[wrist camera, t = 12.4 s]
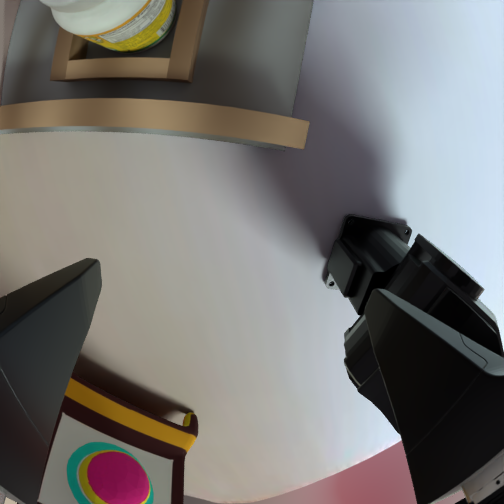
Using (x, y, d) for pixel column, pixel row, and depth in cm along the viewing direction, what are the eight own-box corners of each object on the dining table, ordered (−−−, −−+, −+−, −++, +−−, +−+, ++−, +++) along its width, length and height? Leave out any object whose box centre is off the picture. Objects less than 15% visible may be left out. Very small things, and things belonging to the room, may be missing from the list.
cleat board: (315, -26, 14) (340, -57, 9) (281, 149, 20) (301, 163, 15) (36, -24, 11) (0, -41, 6) (6, 132, 17) (-38, 145, 12)
